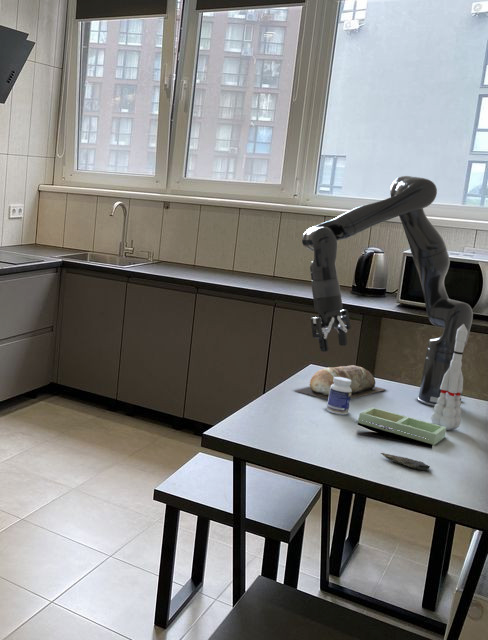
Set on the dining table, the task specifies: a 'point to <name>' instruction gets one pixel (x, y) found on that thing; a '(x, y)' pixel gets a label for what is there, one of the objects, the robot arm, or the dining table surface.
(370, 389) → the bread loaf
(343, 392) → the pill bottle
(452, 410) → the rocket model
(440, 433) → the holder
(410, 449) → the dining table surface
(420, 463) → the arrowhead
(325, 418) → the dining table surface
